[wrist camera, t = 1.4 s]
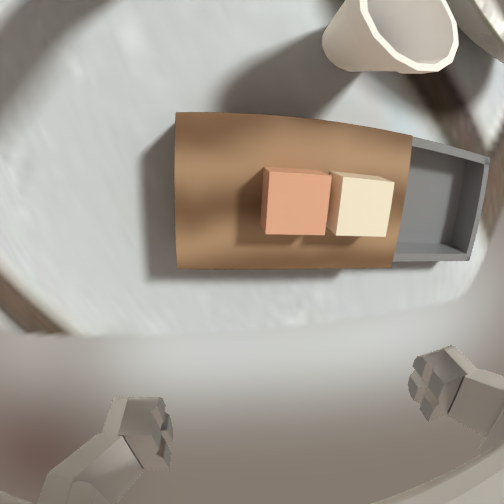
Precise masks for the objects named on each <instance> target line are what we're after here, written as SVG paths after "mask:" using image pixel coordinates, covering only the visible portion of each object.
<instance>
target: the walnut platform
mask: <svg viewBox="0 0 504 504" xmlns="http://www.w3.org/2000/svg"><path fill="white" fill-rule="evenodd" d="M412 139H413V136H411V135H406V134H401V133H397V132H392V131H387V130H382V129H376V128H371V127H365V126H359V125H353V124H347V123H340V122H333V121H326V120H318V119H309V118H300V117H290V116H278V115H265V114H247V113H220V112H177V113H176V118H175V166H174V186H175V236H176V260H177V269H333V268H391V266H392V262H393V257H394V253H395V248H396V243H397V239H398V234H399V229H400V223H401V218H402V212H403V207H404V201H405V194H406V188H407V181H408V174H409V166H410V158H411V149H412ZM264 167H278V168H295V169H309V170H320V171H323V172H325V173H327V174H329V175H330V171H334V172H344V173H354V174H364V175H372V176H379V177H382V178H385V179H387V180H390V181H392V182H395V183H394V190H393V197H392V203H391V210H390V215H389V221H388V227H387V232H386V237H373V236H336V235H335V234H334V233H333V232H332V231H331V230H330V229H328V228H327V227H326V230H325V235H283V234H265V232H264V230H263V228H262V226H261V223H260V220H261V204H262V188H263V171H264Z"/></svg>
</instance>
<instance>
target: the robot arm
mask: <svg viewBox="0 0 504 504" xmlns="http://www.w3.org/2000/svg"><path fill="white" fill-rule="evenodd" d="M413 367H414V369H415V370H414V372H413V373H412V374H411V375H410V378H409V382H408V387H409V392H410V395H411V397H412V398H413V400H414V401H416V402H418V403H420V410H421V412H422V413H423V415H424V416H425V418H426V419H427V421H428V422H429V421H432V420H435V419H437V418H440V417H442V416H445V415H447V414H448V416H449V417H451V418H453V419H455V420H456V421H458V422H460V423H462V424H463V425H465V426H467V427H469V428H471V429H472V430H474V431H476V432H478V433H480V434H482V435H483V436H485V437H486V438H485V439H484V441H483V442H482V443H481V445H480V448H479V450H480V452H481V453H482V454H480V455H478V456H477V457H475V458H473V459H471V460H470V461H468V462H466V463H465V464H462V465H461V466H459V467H457V468H455V469H453V470H451V471H449V472H447V473H445V474H443V475H441V476H439V477H437V478H435V479H433V480H431V481H429V482H426V483H424V484H422V485H419V486H417V487H415V488H412V489H410V490H408V491H405V492H402V493H400V494H397V495H395V496H392V497H389V498H386V499H384V500H381V501H378V502H375V503H372V504H504V377H503V376H500V375H497V374H494V373H491V372H489V371H486V370H483V369H480V370H477V369H476V368H475V367H474V365H473V364H472V363H471V362H470V361H469V360H468V359H467V358H466V357H465V356H464V355H463V354H462V353H461V352H460V351H459V350H458V349H457V348H456V347H454V346H452V345H450V346H448V347H445V348H442V349H440V350H436V351H433V352H430V353H427V354H424V355H421V356H418V357H417V358H416V359H415V360H414V363H413ZM172 439H173V428H172V422H171V419H170V416H169V415H168V414H167V413H166V412H165V403H164V401H163V398H160V397H118V396H116V397H115V398H114V399H113V400H112V403H111V406H110V409H109V412H108V415H107V418H106V421H105V424H104V428H103V431H102V434H96V435H95V436H94V437H93V438H92V439H91V440H89V441H88V442H87V443H85V444H84V445H83V446H82V447H80V448H79V449H78V450H77V451H75V452H74V453H73V454H72V455H70V456H69V457H68V458H66V459H65V460H64V461H63V462H61V463H60V464H59V465H58V466H56V467H55V468H54V469H52V470H51V471H50V472H49V473H48V475H47V478H46V481H45V483H44V486H43V489H42V492H41V495H40V498H39V501H38V504H116V503H117V502H118V501H119V500H120V499H121V497H122V496H123V495H124V494H125V493H126V492H127V490H128V489H129V488H130V487H131V486H132V484H133V483H134V482H135V481H136V480H137V478H138V477H139V476H140V474H141V473H142V472H143V469H151V470H163V469H164V470H168V469H170V461H171V451H170V449H169V447H168V446H169V445H170V444H171V443H172ZM0 504H34V503H31V502H27V501H25V500H22V499H20V498H17V497H14V496H12V495H9V494H7V493H5V492H2V491H0Z"/></svg>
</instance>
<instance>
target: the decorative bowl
mask: <svg viewBox="0 0 504 504" xmlns="http://www.w3.org/2000/svg"><path fill="white" fill-rule="evenodd" d="M446 2H447V4H448V6H449V8H450V10H451V12H452V14H453V16H454V18H455V21H456V23H457V26H458V27H459V28H460V29H461V30H462V31H463V32H464V33H465V34H466V35H467V36H468V37H469V38H470V39H471V40H472V41H473V42H474V43H476V44H477V45H478V46H479V47H481V48H482V49H483V50H484V51H486V52H487V53H489V54H490V55H492V56H493V57H494V58H496V59H498V60H499V61H501V62H502V63H504V0H446Z"/></svg>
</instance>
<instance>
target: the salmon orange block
mask: <svg viewBox="0 0 504 504" xmlns="http://www.w3.org/2000/svg"><path fill="white" fill-rule="evenodd" d="M331 179H332V176H331V175H329V174H327V173H325V172H323V171H320V170H309V169H295V168H278V167H264V171H263V188H262V204H261V220H260V223H261V226H262V228H263V230H264V232H265V234H283V235H325V230H326V222H327V214H328V206H329V197H330V188H331Z"/></svg>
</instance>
